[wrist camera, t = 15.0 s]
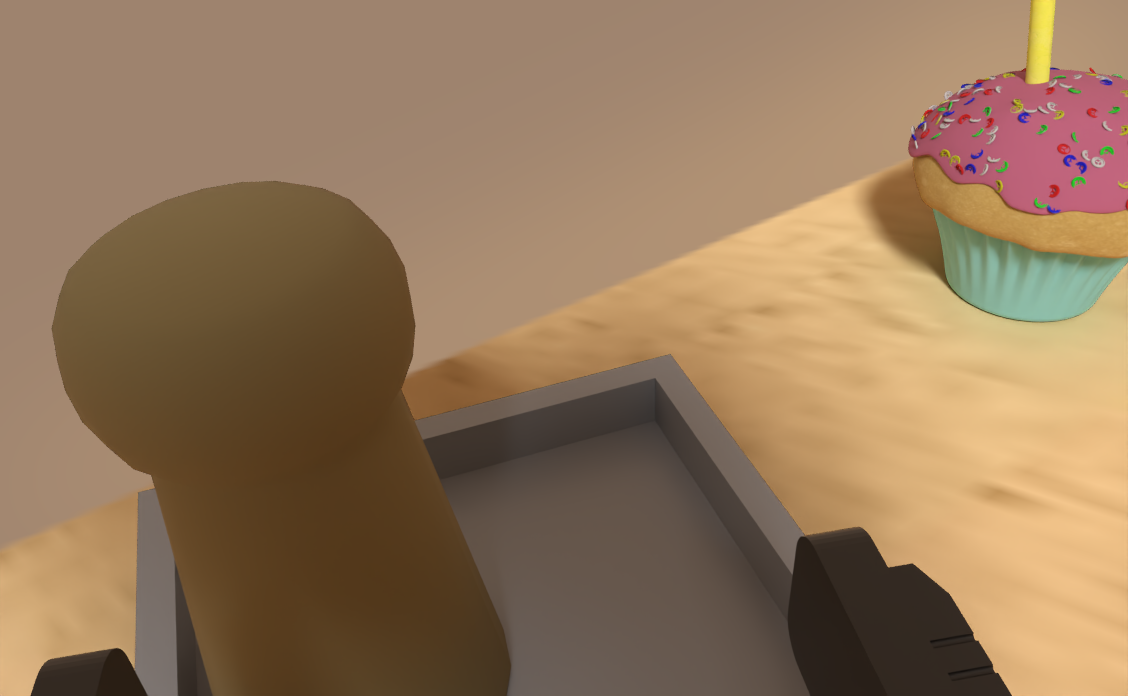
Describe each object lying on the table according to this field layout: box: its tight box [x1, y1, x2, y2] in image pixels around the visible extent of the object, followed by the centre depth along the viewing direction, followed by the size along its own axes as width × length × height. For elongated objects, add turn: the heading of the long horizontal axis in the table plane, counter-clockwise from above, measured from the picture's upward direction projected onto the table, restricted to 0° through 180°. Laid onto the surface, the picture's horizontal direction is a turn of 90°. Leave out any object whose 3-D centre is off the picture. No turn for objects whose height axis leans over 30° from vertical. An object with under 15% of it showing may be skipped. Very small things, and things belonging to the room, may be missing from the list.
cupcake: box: [908, 0, 1128, 322], centre depth 29 cm, size 9×8×12 cm
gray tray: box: [135, 354, 810, 696], centre depth 21 cm, size 14×12×2 cm
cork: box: [52, 181, 511, 696], centre depth 17 cm, size 6×6×11 cm
